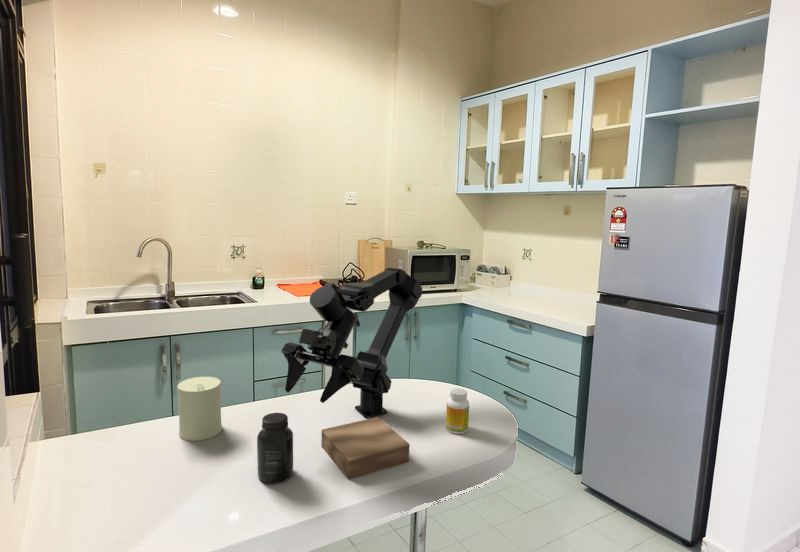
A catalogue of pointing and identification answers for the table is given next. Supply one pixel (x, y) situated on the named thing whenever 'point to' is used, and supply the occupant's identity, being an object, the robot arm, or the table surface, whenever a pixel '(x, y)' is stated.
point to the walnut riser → (364, 447)
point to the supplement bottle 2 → (457, 411)
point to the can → (199, 408)
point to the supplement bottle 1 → (275, 449)
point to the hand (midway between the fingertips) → (303, 396)
